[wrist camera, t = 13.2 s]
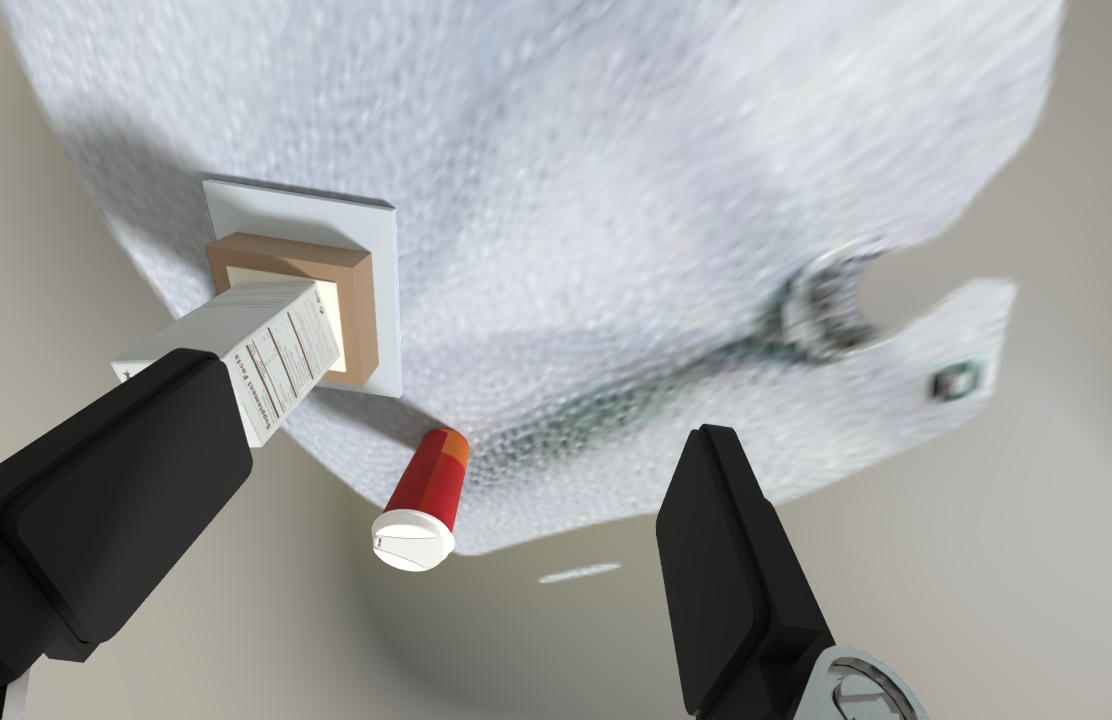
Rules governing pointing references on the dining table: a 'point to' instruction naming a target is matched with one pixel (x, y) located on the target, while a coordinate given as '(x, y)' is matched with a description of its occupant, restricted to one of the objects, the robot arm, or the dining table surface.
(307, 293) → the supplement box
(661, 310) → the dining table surface
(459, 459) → the paper cup
